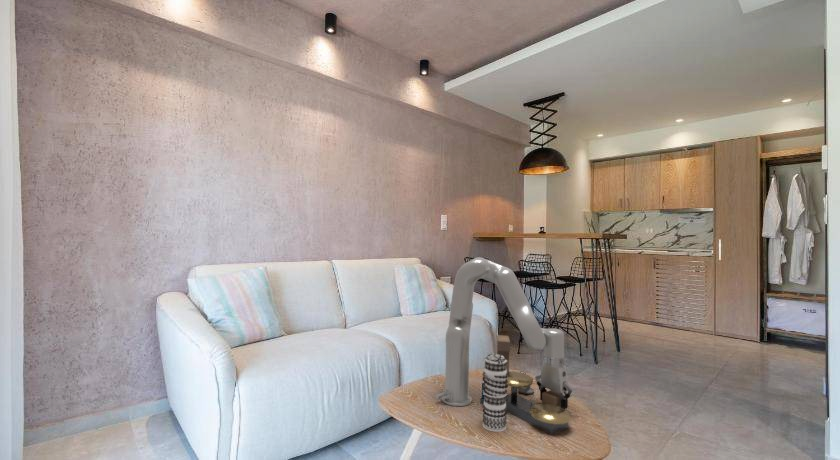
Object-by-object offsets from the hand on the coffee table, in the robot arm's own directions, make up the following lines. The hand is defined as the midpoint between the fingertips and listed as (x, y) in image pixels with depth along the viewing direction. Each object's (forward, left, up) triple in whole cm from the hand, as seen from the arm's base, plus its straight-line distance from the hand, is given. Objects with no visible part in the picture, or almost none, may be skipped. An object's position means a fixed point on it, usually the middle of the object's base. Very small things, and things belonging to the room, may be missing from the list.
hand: (553, 404), depth 152 cm
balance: (-13, 0, -2) cm, 13 cm away
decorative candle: (-30, +2, -2) cm, 30 cm away
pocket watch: (+3, +17, -2) cm, 18 cm away
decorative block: (+5, +32, -2) cm, 33 cm away
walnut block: (0, 0, -2) cm, 2 cm away
